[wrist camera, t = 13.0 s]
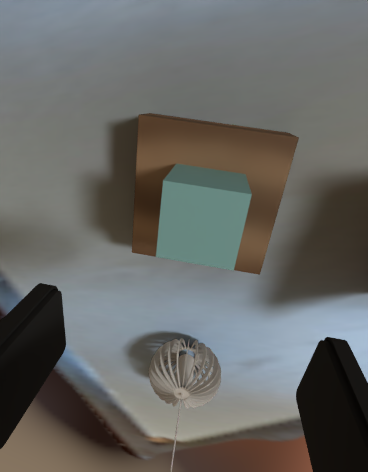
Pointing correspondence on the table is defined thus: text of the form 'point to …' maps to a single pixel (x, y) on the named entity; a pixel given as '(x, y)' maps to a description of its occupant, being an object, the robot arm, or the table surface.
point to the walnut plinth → (213, 157)
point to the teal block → (202, 216)
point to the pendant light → (184, 375)
